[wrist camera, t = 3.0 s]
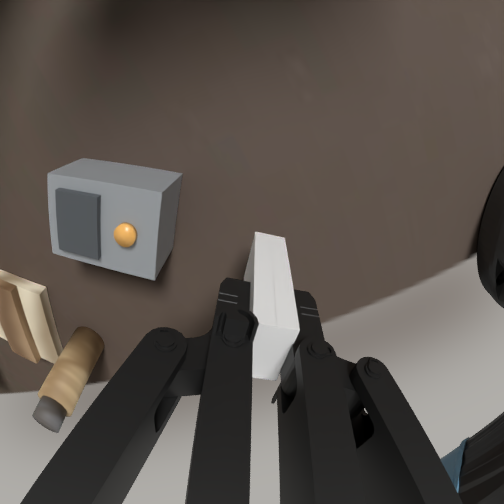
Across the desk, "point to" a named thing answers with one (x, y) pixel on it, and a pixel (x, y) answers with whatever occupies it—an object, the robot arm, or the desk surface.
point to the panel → (28, 319)
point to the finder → (114, 215)
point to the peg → (68, 378)
